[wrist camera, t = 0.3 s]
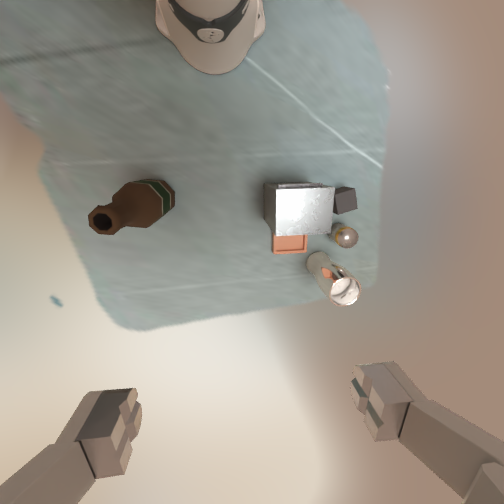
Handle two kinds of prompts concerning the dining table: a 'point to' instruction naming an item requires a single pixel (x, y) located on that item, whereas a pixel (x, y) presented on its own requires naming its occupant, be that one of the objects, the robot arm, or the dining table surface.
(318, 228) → the dark grey block
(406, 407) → the robot arm
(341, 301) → the beer glass
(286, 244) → the tray
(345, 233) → the cylinder
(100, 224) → the beer bottle
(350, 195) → the rubber block
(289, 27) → the dining table surface
